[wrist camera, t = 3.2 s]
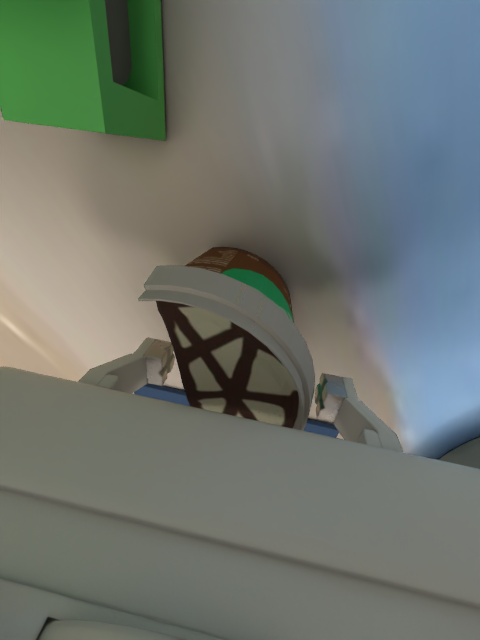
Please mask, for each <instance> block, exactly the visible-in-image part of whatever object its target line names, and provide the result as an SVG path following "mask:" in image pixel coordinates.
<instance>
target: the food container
mask: <svg viewBox="0 0 480 640" xmlns="http://www.w3.org/2000/svg"><path fill="white" fill-rule="evenodd" d="M144 287H145V290H146V291H145V292H144V293H143V294H142V295H141V296H140V297H139V298H138V300H139V301H156V303H157V307H158V311H159V313H160V314H161V316H162V318H163V321H164V323H165V325H166V328H167V331H168V334H169V337H170V340H171V343H172V346H173V349H174V352H175V356H176V359H177V363H178V367H179V371H180V375H181V379H182V383H183V386H184V390H185V393H186V397H187V400H188V402H189V404H190V406H191V407H195V408H200V409H205V410H209V411H214V412H218V413H223V414H228V415H232V416H237V417H241V418H246V419H251V420H255V421H260V422H265V423H269V424H274V425H279V426H283V427H288V428H292V429H297V430H302V431H303V430H304V428H305V426H306V422H307V419H308V416H309V412H310V407H311V403H312V398H313V394H314V385H315V373H314V367H313V361H312V357H311V355H310V352H309V349H308V347H307V344H306V342H305V340H304V339H303V337H302V335H301V334H300V332H299V331H298V329H297V327H296V326H295V325H294V321H293V313H292V306H291V300H290V295H289V291H288V289H287V286H286V284H285V282H284V280H283V279H282V277H281V276H280V274H279V273H278V272H277V271H276V270H275V269H274V268H273V267H272V266H271V265H270V264H269V263H268V262H266V261H265V260H263V259H262V258H260V257H258V256H257V255H255V254H252V253H250V252H248V251H244V250H241V249H237V248H229V247H218V248H212V249H210V250H208V251H207V252H205V253H204V254H202V255H201V256H199V257H198V258H196V259H194V260H193V261H191V262H190V263H188V264H187V265H185V266H179V265H170V266H157V267H156V268H155V269H154V271H153V272H152V274H151V275H150V277H149V278H148V280H147V281H146V282H145V284H144Z"/></svg>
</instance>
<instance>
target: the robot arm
mask: <svg viewBox="0 0 480 640" xmlns="http://www.w3.org/2000/svg"><path fill="white" fill-rule="evenodd" d="M173 351H174V349H173V346H172V343H171V342H167V341H162V340H158V339H153V338H146V339H145V340H144V341H143V343H142V344H141V345H140V346H139V348H138V349H137V350H136V351H135V352H134V354H128V355H126V356H123V357H121V358H118V359H115V360H113V361H110V362H108V363H105V364H103V365H100V366H98V367H95V368H92V369H90V370H89V371H88V372H87V373H86V374H85V375H84V376H83V377H82V378H81V379H80V380H79V381H78V382H76V381H71V380H66V379H62V378H57V377H52V376H48V375H43V374H39V373H34V372H29V371H25V370H21V369H17V368H12V367H4V366H3V367H0V640H480V469H478V468H473V467H468V466H464V465H459V464H454V463H450V462H445V461H440V460H436V459H431V458H426V457H422V456H417V455H412V454H408V453H404V452H403V450H402V447H401V445H400V442H399V440H398V437H397V435H396V434H395V433H394V432H393V431H392V430H391V429H390V428H389V427H388V426H387V425H386V424H385V423H384V422H383V421H382V420H381V419H379V418H378V417H377V416H376V415H375V414H374V413H373V412H372V411H371V410H370V409H369V408H368V407H367V406H366V405H365V404H364V403H363V402H362V401H359V400H358V397H357V394H356V391H355V387H354V384H353V381H352V379H351V378H347V377H340V376H335V375H329V374H324V373H322V374H321V376H320V383H319V384H318V385H317V387H316V390H315V403H316V404H317V407H316V415H317V419H320V420H324V421H328V422H332V423H333V424H334V426H335V427H336V428H337V430H338V431H339V433H340V434H341V436H342V437H343V438H344V440H343V439H339V438H334V437H329V436H325V435H320V434H315V433H311V432H306V431H302V430H297V429H292V428H288V427H283V426H279V425H274V424H269V423H265V422H260V421H255V420H251V419H246V418H241V417H237V416H232V415H228V414H223V413H218V412H214V411H209V410H205V409H200V408H195V407H191V406H186V405H182V404H177V403H172V402H168V401H163V400H159V399H154V398H149V397H145V396H140V395H135V394H132V393H133V392H135V391H137V390H138V389H140V388H141V387H143V386H144V385H146V384H147V383H149V384H155V385H160V386H163V384H164V382H165V380H166V379H167V373H169V372H171V370H172V368H173V365H174V359H175V356H174V354H173Z"/></svg>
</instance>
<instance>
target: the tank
mask: <svg viewBox="0 0 480 640" xmlns="http://www.w3.org/2000/svg"><path fill="white" fill-rule="evenodd" d="M0 108H1V111H2V115H3V119H4V120H8V121H16V122H23V123H31V124H39V125H46V126H54V127H62V128H69V129H77V130H84V131H92V132H100V133H107V134H115V135H123V136H131V137H139V138H147V139H155V140H163V141H166V138H165V102H164V76H163V49H162V23H161V0H0Z"/></svg>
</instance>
